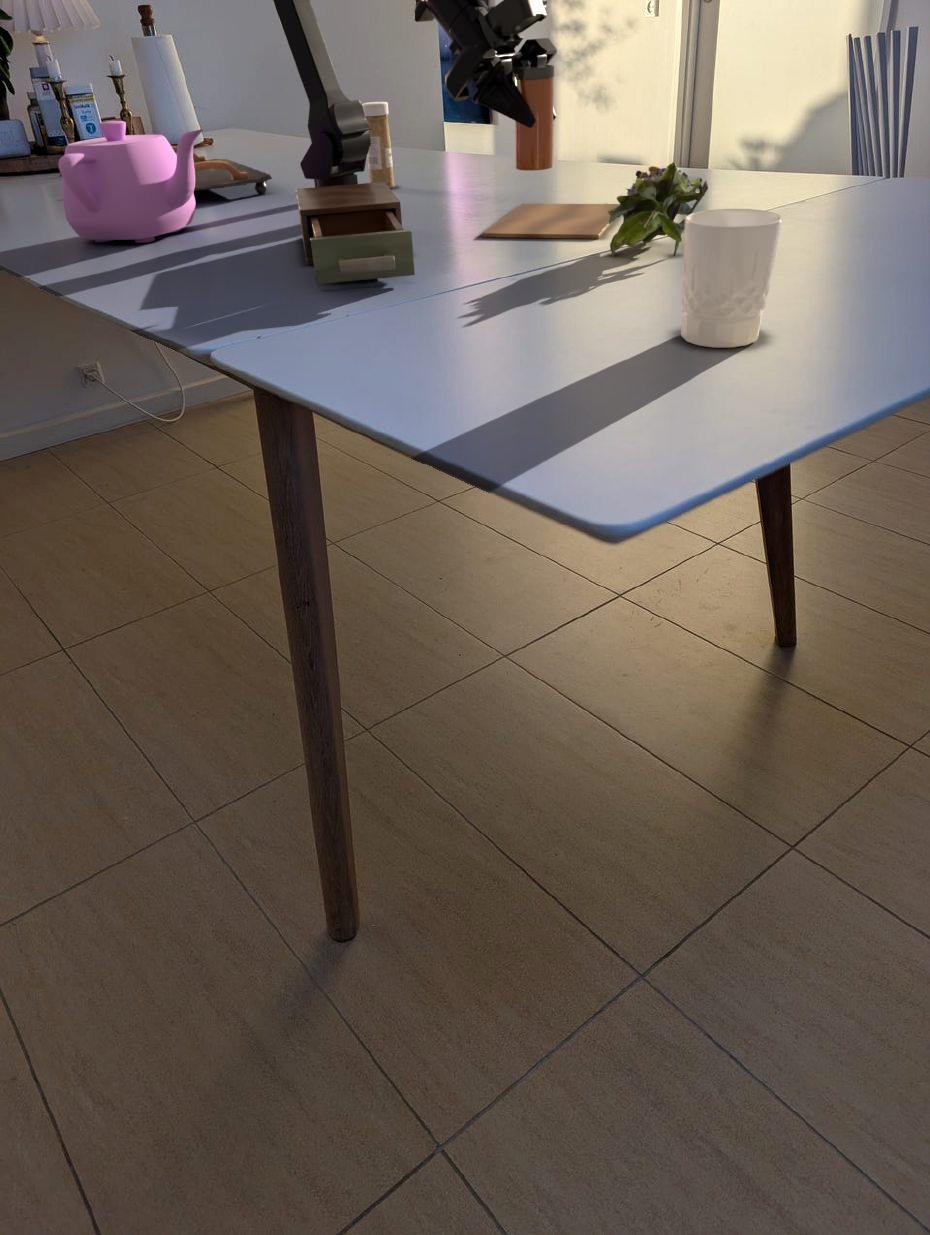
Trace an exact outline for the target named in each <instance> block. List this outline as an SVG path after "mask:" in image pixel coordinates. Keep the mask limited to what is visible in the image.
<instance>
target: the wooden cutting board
mask: <svg viewBox="0 0 930 1235" xmlns="http://www.w3.org/2000/svg"><path fill="white" fill-rule="evenodd" d="M619 205H620V203H521V204H519V205H518V206H517V207H516V208H514V209H513V210H511V211H510V212H509V213H508V214H506V215H505V216H504V217H502V218H501V219H499V220H498V221H496V222H495V223H494V224H493V225H492V226H490V227H489V228H487V229H486V230H485V231H483V232H482V233H481V238H514V239H515V238H516V239H517V238H519V239H520V238H521V239H524V238H525V239H526V238H527V239H586V240H587V239H591V240H593V239H594V240H595V239H596V240H597V239H598V240H599V239H601V237H602V236H603V234H604V233H605V232H606V231H607V230H608V229H609V227H610V226H611V225H612V224H613V223H614V221H612V222H611V224H609V218H610V216H611V215H609V214H608V209H613V208H616V207H618V206H619Z"/></svg>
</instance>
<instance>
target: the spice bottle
mask: <svg viewBox="0 0 930 1235" xmlns="http://www.w3.org/2000/svg"><path fill="white" fill-rule="evenodd" d="M555 67H556V66H555V65H554V64H548V65H534V66H520V67H514V79H515V84H516V86H517V88H518V89H519V91H520V93H521V95H522V96H523V98H524V100H525V101H526V103H527V105H528V106H529V108H530V110H531V111H532V113H533V115H534V117H535V119H536V123H535V124H534V125H533V127H531V128H529V127H527V126H525V125H523V124H521V123H519V122H517V121H515V120H514V127H515V128H514V130H515V131H514V134H515V135H514V136H515V140H514V141H515V144H514V145H515V169H516V170H518V171H525V172H527V171H531V172H532V171H544V170H550V169H552V168H553V167H554V159H553V158H554V121H553V108H554V98H555V97H554V96H555V94H554V93H555V92H554V90H555V89H554V88H555V86H554V85H555V84H554V83H555V81H554V80H555V75H556V73H555V69H556V68H555Z"/></svg>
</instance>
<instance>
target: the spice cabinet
mask: <svg viewBox="0 0 930 1235" xmlns="http://www.w3.org/2000/svg"><path fill="white" fill-rule="evenodd" d="M391 189H392V188H389V187H388V186H387V184H386V183H385V182H376V183H370V182H364V183H363V182H362V183H358V184H351V185H339V186H326V187H315V186H314V187H304V188H303V187H302V188H295V195H296V201H297V209H298V215H299V223H300V229H301V237H302V243H303V249H304V254H305V259H306V264H307V266H312V265H313V266H314V263H313V255H312V248H311V241H310V238H313V233H312V226H311V219H310V215H322V214H334V213H345V212H357V211H369V210H381V209H390V210H391V212H392V213H393V215H394V216H395V217H396V219H397V220H398V222H399V223H400V225H401V226H402V227H403V219H402V208H401V206H402V205H401V201H400V200H399V198H398V196H396V194H395V193H394V192H393V190H391Z"/></svg>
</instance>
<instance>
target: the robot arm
mask: <svg viewBox="0 0 930 1235" xmlns="http://www.w3.org/2000/svg"><path fill="white" fill-rule="evenodd" d="M414 1H415V2H414V3H415V6H414V12H413V13H414V14H413V15H414V16H413V20H414V21H415V22H416V23H421V22H433V21H434V20H435V21H436V22H437V23H438V25H439V26H440V28H441V29H442V30H443V32H444V33H445V34H446V36H447V37H448V38H449V39H450V41H451V43H450V44H449V46H448V49H449V51H450V52H451V53H452V54H453V55H458V56H457V57H456V58H455V60H454V61H453V64H452V65H451V67H450V68H449V69H448V71H447V73H446V74H445V76H444V86H445V91H446V92H447V93H448V94H449V96H450V97H451V99H453V101H454V102H461V101H466V100H468V98H469V97H470V91H469V88H468V87H467V86H468V85H469V83H470V81H471V80H472V81H473V82H474V88H475V89H476V91H475V94H474V95H473V96H472V98H471V101H472V102H473V103H474V104H479V105H481V106H483V107H485V108H487V109H490V110H492V111H494V112H496V113H499V114H501V115H503V116H505V117H507V118H509V119H510V120H513V121H514V122H515V121H517V122H519V123H521V124H523V125H525V126H527V127H529V128H531V127H533V125H534V124H535V123H536V119H535V117H534V115H533V113H532V111H531V110H530V108H529V106H528V105H527V103H526V101H525V100H524V98H523V96H522V95H521V93H520V91H519V89H518V88H517V86H516V84H515V79H514V67H520V66H534V65H550V62H551V61H552V60H553V59H554V57H555V56H556V54H557V53H558V49H557V47H556V46H555V45H554V43H553V42H552V40H551V39H550V38H549V37H539V38H531V39H526V40H525V42H523V44H522V46H521V47H520V48H519V50H518V51H516V50H515V49H516V47H519V45H520V44H521V43H522V41H523V40H524V39H525V36H523V35H522V33H523V32H525V31H526V30H527V29H529V28H531V27H532V26H534V25H535V24H536V23H538V22H543V21H544V20H545V19H546V18H547V16H548V15H547V12H546V11H547V4H548V0H502V1H500V2H499V3H497V4H496V5H494V6H493V5H492V6H488V5H487V4H486V2H485V1H484V0H414ZM272 3H273V6H274V8H275V11H276V14H277V17H278V19H279V23H280V25H281V28H282V30H283V34H284V37H285V39H286V42H287V44H288V48H289V50H290V53H291V56H292V59H293V62H294V65H295V67H296V69H297V72H298V75H299V78H300V81H301V84H302V86H303V89H304V93H305V95H306V97H307V100H308V104H309V108H308V119H307V129H308V134H309V138H310V142H311V143H310V145H309V147H308V149H307V150H306V152H305V154H304V156H303V158H302V160H301V161H300V169H301V171H302V174H303V176H304V179H306V180H313V181H314V187H326V186H339V185H351V184H359V180H358V174H356V173H363V172H365V169H366V164H367V154H368V151H369V147H370V146H371V139H370V134H369V130H371V127H370V126H369V124H368V122H367V120H366V118H365V114H364V109H363V106H362V104H363V103H362V102H361V100H359V99H355V100H350V99H349V97H347V96H346V95H345V94H344V92H343V90H342V87H341V85H340V82H339V80H338V76H337V73H336V71H335V68H334V64H333V62H332V59H331V57H330V54H329V51H328V48H327V45H326V42H325V39H324V37H323V33H322V31H321V28H320V25H319V22H318V19H317V16H316V13H315V11H314V10H315V9H314V7H313V5H312V2H311V0H272ZM556 118H557V114H556V111H555V109H554V107H553V122H554V121H555V120H556Z"/></svg>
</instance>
